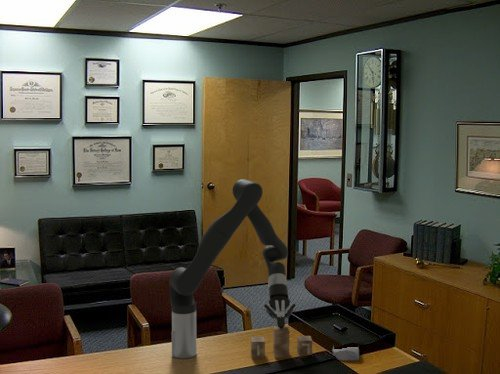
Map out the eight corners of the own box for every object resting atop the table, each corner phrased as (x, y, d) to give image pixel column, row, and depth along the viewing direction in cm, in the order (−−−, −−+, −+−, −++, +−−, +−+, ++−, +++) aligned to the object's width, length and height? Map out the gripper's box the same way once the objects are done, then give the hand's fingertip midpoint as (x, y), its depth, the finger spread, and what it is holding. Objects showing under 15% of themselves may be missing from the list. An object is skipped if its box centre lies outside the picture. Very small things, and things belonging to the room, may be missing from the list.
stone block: (334, 365, 216) (361, 360, 215) (332, 352, 216) (359, 348, 215) (333, 353, 228) (358, 349, 227) (331, 342, 227) (356, 338, 226)
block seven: (299, 357, 218) (299, 341, 217) (297, 352, 223) (297, 336, 223) (312, 357, 218) (312, 340, 218) (309, 352, 223) (310, 335, 223)
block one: (251, 358, 217) (251, 342, 216) (250, 353, 222) (250, 337, 221) (264, 358, 217) (265, 341, 216) (263, 353, 222) (263, 336, 222)
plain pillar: (274, 358, 217) (274, 332, 216) (273, 352, 223) (273, 327, 222) (289, 357, 218) (289, 332, 217) (287, 352, 223) (287, 327, 222)
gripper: (262, 282, 227) (264, 323, 216) (295, 282, 228) (299, 322, 217) (260, 292, 233) (263, 332, 222) (293, 291, 233) (297, 331, 223)
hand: (281, 327), depth 219 cm, fingers closed
